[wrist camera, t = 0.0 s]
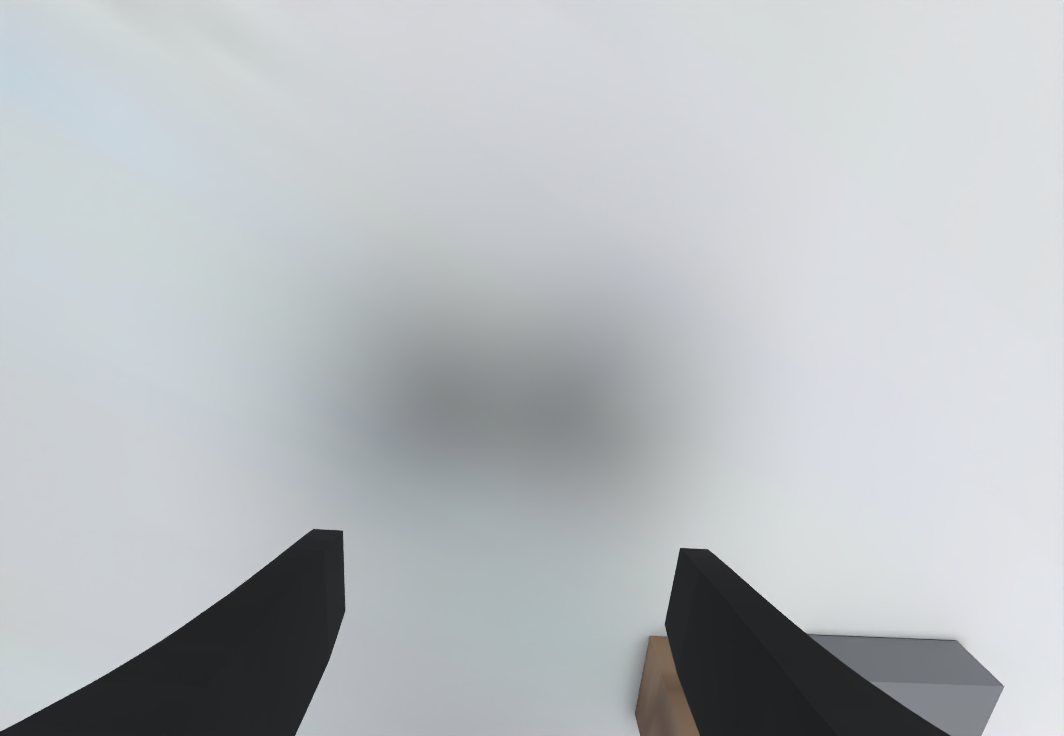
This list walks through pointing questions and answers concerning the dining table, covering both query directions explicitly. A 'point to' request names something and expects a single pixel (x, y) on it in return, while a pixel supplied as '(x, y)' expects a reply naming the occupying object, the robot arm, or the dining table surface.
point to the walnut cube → (662, 695)
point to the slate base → (924, 678)
